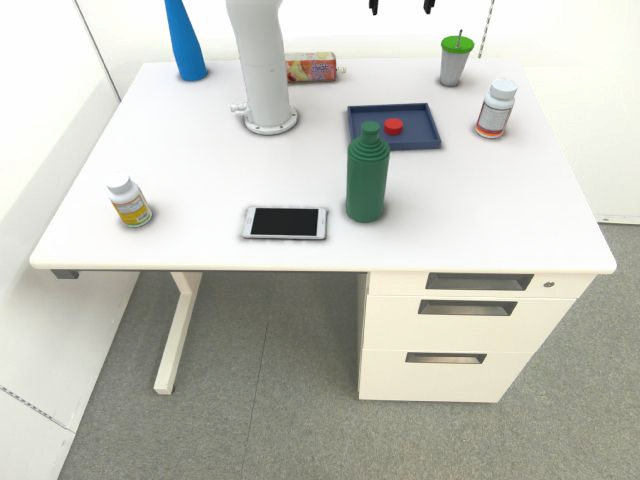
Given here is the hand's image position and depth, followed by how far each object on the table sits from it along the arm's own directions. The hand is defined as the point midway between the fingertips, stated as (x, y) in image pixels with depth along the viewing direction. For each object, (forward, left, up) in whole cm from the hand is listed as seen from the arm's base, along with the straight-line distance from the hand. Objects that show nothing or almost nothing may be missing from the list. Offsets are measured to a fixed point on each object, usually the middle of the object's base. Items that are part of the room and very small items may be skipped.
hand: (400, 12), depth 74 cm
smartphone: (-23, -29, -25) cm, 44 cm away
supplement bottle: (-51, -25, -25) cm, 63 cm away
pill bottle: (+23, -2, -25) cm, 34 cm away
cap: (+1, -1, -23) cm, 23 cm away
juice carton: (-21, +25, -25) cm, 41 cm away
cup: (+19, +20, -25) cm, 37 cm away
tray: (+1, 0, -25) cm, 25 cm away
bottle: (-50, +30, -25) cm, 64 cm away
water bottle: (-8, -26, -25) cm, 37 cm away
